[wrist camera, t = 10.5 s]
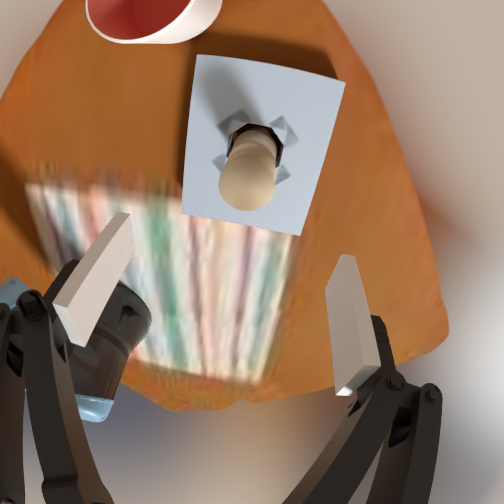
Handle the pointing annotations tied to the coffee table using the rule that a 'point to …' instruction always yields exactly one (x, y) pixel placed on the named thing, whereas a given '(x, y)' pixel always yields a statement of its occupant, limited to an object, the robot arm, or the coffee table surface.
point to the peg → (249, 171)
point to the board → (266, 114)
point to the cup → (151, 19)
